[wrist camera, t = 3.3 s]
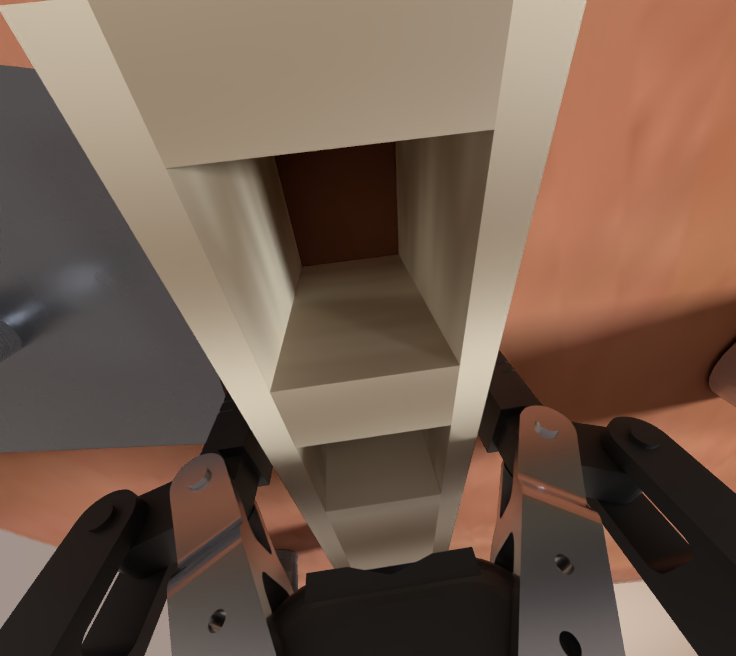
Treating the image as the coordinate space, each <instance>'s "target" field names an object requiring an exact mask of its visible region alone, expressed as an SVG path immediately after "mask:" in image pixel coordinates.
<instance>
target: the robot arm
mask: <svg viewBox="0 0 736 656" xmlns="http://www.w3.org/2000/svg"><path fill="white" fill-rule="evenodd" d="M709 387H710V389H711V390H712V392H714V393H715V394H717V395H718V396H720V397H721V398H723V399H724V400H726V401H727V402H729V403H730V404H732V405H733V406H735V407H736V343H735V344H734V345H733V346H732V347H731V348H730V349H729V350H728V351H727V352H726V353H725V354H724V355H723V356H722V357H721V359H720V360H719V361H718V363H717V364H716V365H715V367H714V369H713V371H712V373H711V375H710V377H709ZM219 411H220V413H218V415H217V417H216V420H215V422H214V424H213V427H212V429H211V431H210V434H209V436H208V438H207V441H206V443H205V445H204V448H203V450H202V452H201V454H200V456H198V457H196V458H194V459H193V460H191V461H190V462H188V463H187V464H186V465H185V466H184V467H183V468H182V469H181V470H180V471H179V472H178V473H177V475H176V476H175V478H174V480H173V481H172V482H170V483H167V484H165V485H163V486H161V487H158V488H156V489H154V490H152V491H149V492H147V493H145V494H143V495H140V496H138V495H136V494H135V493H133V492H132V491H130V490H117V491H114V492H112V493H110V494H107V495H106V496H104V497H102V498H101V499H99V500H98V501H96V502H95V503H94V504H93V505H91V506H90V507H89V508H88V509H87V510H86V511H85V512H84V513H83V514H82V515H81V516H80V518H79V519H78V520H77V521H76V523H75V524H74V526H73V527H72V528H71V530H70V531H69V533H68V534H67V536H66V537H65V538H64V540H63V541H62V543H61V544H60V545H59V547H58V548H57V550H56V551H55V553H54V554H53V555H52V557H51V558H50V560H49V561H48V562H47V564H46V565H45V567H44V569H43V570H42V571H41V572H40V574H39V575H38V577H37V578H36V579H35V581H34V582H33V584H32V585H31V587H30V588H29V589H28V591H27V592H26V594H25V595H24V596H23V598H22V599H21V601H20V602H19V604H18V605H17V606H16V608H15V609H14V611H13V612H12V613H11V615H10V616H9V618H8V619H7V621H6V622H5V623H4V625H3V626H2V628H1V629H0V656H144V655H145V652H146V650H147V648H148V645H149V642H150V640H151V637H152V635H153V632H154V630H155V627H156V625H157V622H158V620H159V617H160V614H161V612H162V609H163V607H164V604H165V602H166V599H167V603H168V615H169V626H170V639H171V651H172V656H625V651H624V645H623V639H622V635H621V628H620V622H619V617H618V610H617V605H616V599H615V593H614V587H613V582H612V576H611V570H610V564H609V558H608V553H607V547H606V541H605V535H604V529H603V525H604V527H605V528H606V529H607V531H608V532H609V534H610V535H611V536H612V538H613V539H614V540H615V542H616V543H617V545H618V546H619V547H620V549H621V550H622V551H623V553H624V554H625V555H626V557H627V558H628V560H629V561H630V562H631V564H632V565H633V566H634V568H635V569H636V571H637V572H638V573H639V575H640V576H641V577H642V579H643V580H644V582H645V583H646V584H647V586H648V587H649V588H650V590H651V591H652V593H653V594H654V595H655V596H656V598H657V599H658V601H659V602H660V603H661V605H662V606H663V608H664V609H665V610H666V612H667V613H668V614H669V616H670V617H671V619H672V620H673V621H674V623H675V624H676V625H677V627H678V628H679V630H680V631H681V632H682V634H683V635H684V636H685V638H686V639H687V641H688V642H689V643H690V645H691V646H692V647H693V649H694V650H695V651H696V653H697V654H698V656H736V493H734V492H733V491H732V490H731V489H730V488H729V487H727V486H726V485H725V484H724V483H723V482H722V481H720V480H719V479H718V478H717V477H716V476H714V475H713V474H712V473H711V472H710V471H709V470H707V469H706V468H705V467H704V466H703V465H702V464H700V463H699V462H698V461H697V460H696V459H695V458H693V457H692V456H691V455H690V454H689V453H688V452H686V451H685V450H684V449H683V448H682V447H681V446H679V445H678V444H677V443H676V442H675V441H674V440H672V439H671V438H670V437H669V436H668V435H667V434H665V433H664V432H663V431H661V430H660V429H658V428H657V427H655V426H653V425H652V424H650V423H647V422H645V421H643V420H640V419H636V418H632V417H617V418H614V419H612V420H611V421H610V423H609V424H608V425H607V427H602V426H595V425H588V424H580V423H574V422H570V420H569V419H568V418H566V417H565V416H564V415H563V414H561V413H560V412H558V411H556V410H554V409H552V408H549V407H545V406H543V405H542V404H541V403H540V402H539V401H538V399H537V398H536V397H535V396H534V394H533V393H532V392H531V390H530V389H529V388H528V387H527V385H526V384H525V383H524V381H523V380H522V379H521V378H520V376H519V375H518V374H517V372H515V371H514V369H513V367H512V366H511V365H510V363H508V361H507V360H506V358H505V357H504V356H503V354H502V353H501V352H500V351H498V355H497V359H496V363H495V367H494V371H493V375H492V379H491V383H490V387H489V390H488V394H487V398H486V402H485V406H484V410H483V414H482V418H481V422H480V426H479V430H478V434H479V436H480V439H481V441H482V443H483V445H484V447H485V449H486V451H487V453H491V452H497V451H499V453H500V455H501V457H502V459H503V461H502V465H501V475H500V486H499V498H498V509H497V520H496V526H495V531H494V535H493V540H492V546H491V555H490V562H489V561H486V560H483V559H480V558H476V557H475V554H474V551H473V548H472V547H468V548H462V549H456V550H450V551H443V552H437V553H432V554H430V555H428V556H426V557H424V558H422V559H421V560H419V561H417V562H415V563H413V564H411V565H410V566H408V567H406V568H404V569H402V570H400V571H399V572H397V573H395V574H383V573H378V572H372V571H367V570H362V569H357V568H351V567H343V568H337V569H331V570H324V571H318V572H312V573H306V585H305V586H303V587H301V588H300V589H298V590H297V591H296V592H294V591H293V589H292V586H291V583H290V581H289V579H288V577H287V574H286V572H285V570H284V568H283V567H282V565H281V563H280V561H279V559H278V557H277V555H276V552H275V550H274V547H273V544H272V542H271V539H270V536H269V534H268V531H267V528H266V526H265V523H264V520H263V518H262V515H261V512H260V510H259V507H258V504H257V502H256V500H255V496H256V492H257V487H258V486H265V485H269V484H270V478H271V473H272V468H273V465H272V464H271V462H270V460H269V459H268V457H267V455H266V454H265V452H264V450H263V449H262V447H261V445H260V444H259V442H258V440H257V439H256V437H255V435H254V434H253V432H252V430H251V429H250V427H249V425H248V424H247V422H246V420H245V419H244V417H243V415H242V414H241V412H240V410H239V409H238V407H237V405H236V404H235V402H234V400H233V399H232V397H231V395H230V394H229V392H228V391H227V394H226V396H225V398H224V403H222V405H221V408H220V410H219ZM642 492H644V493H645V494H646V496H647V497H648V498H649V499H650V500H651V501H652V502H653V503H654V504H655V505H656V507H657V508H658V509H659V510H660V511H661V512H662V513H663V514H664V515H665V516H666V517H667V519H668V520H669V521H670V522H671V523H672V524H673V525H674V526H675V527H676V528H677V530H678V531H679V532H680V533H681V534H682V535H683V536H684V537H685V539H686V540H687V541H688V543H689V544H688V543H687V542H686V541H685V540H684V539H683V537H682V536H681V535H680V534H679V533H678V532H677V531H676V530H675V529H674V528H673V526H672V525H671V524H670V523H669V522H668V521H667V520H666V519H665V518H664V517H663V515H662V514H661V513H660V512H659V511H658V510H657V509H656V508H655V507H654V505H653V504H652V503H651V502H650V501H649V500H648V499H647V498H646V497H645V496H644V494H643V493H642ZM587 503H588V504H587ZM588 505H589V506H590V507H591V508H590V507H589V506H588ZM602 524H603V525H602ZM117 572H120V573H119V575H118V577H117V579H116V580H115V582H114V584H113V586H112V588H111V590H110V592H109V594H108V596H107V598H106V599H105V601H104V603H103V605H102V607H101V609H100V611H99V613H98V615H97V617H96V619H95V621H94V622H93V624H92V627H91V628H90V630H89V632H88V634H87V636H86V638H85V640H84V641H83V637H84V635H85V632H86V630H87V628H88V626H89V624H90V623H91V621H92V619H93V617H94V615H95V613H96V611H97V609H98V607H99V605H100V604H101V602H102V600H103V598H104V596H105V594H106V592H107V590H108V589H109V586H110V585H111V583H112V581H113V579H114V577H115V575H116V573H117ZM82 641H83V643H82Z"/></svg>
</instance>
